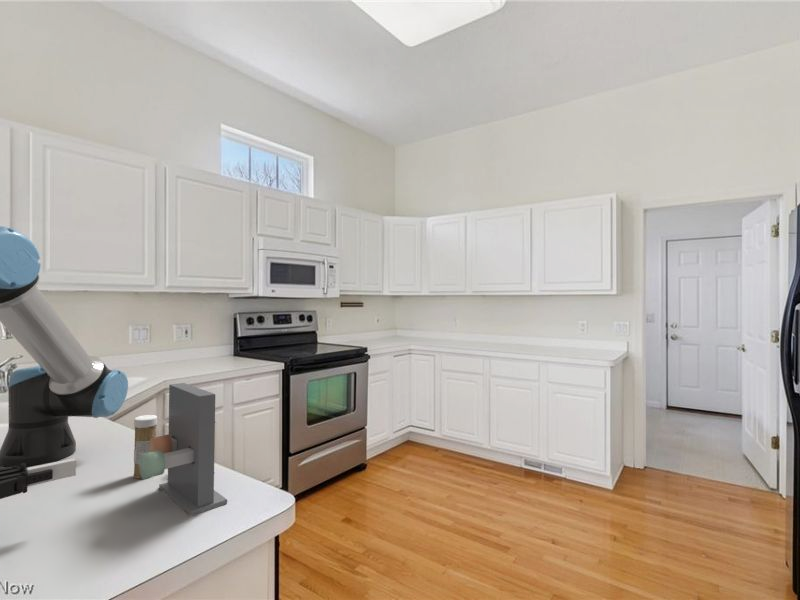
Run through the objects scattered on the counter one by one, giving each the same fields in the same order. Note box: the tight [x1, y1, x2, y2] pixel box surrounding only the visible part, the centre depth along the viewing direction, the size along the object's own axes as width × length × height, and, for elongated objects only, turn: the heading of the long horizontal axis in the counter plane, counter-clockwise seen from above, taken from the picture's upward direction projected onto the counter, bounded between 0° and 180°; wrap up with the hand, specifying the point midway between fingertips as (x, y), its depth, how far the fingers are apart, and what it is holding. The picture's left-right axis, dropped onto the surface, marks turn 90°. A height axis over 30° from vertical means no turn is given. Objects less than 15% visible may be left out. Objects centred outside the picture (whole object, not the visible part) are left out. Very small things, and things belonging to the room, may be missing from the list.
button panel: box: [158, 382, 228, 516], centre depth 89 cm, size 17×7×22 cm, turn 47°
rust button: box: [149, 434, 177, 454], centre depth 92 cm, size 4×12×4 cm, turn 137°
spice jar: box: [133, 414, 158, 479], centre depth 98 cm, size 5×5×14 cm
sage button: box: [139, 447, 195, 480], centre depth 82 cm, size 4×12×4 cm, turn 137°
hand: (74, 466), depth 77 cm, fingers closed
